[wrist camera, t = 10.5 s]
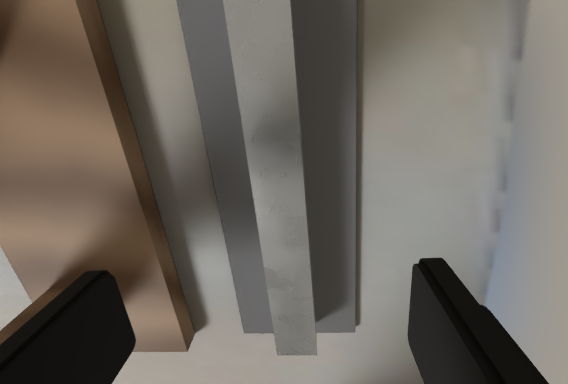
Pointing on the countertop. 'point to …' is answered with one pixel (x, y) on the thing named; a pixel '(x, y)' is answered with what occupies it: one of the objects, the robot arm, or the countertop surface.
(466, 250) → the countertop surface
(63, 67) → the rack
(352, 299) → the mat
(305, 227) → the rail
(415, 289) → the robot arm
